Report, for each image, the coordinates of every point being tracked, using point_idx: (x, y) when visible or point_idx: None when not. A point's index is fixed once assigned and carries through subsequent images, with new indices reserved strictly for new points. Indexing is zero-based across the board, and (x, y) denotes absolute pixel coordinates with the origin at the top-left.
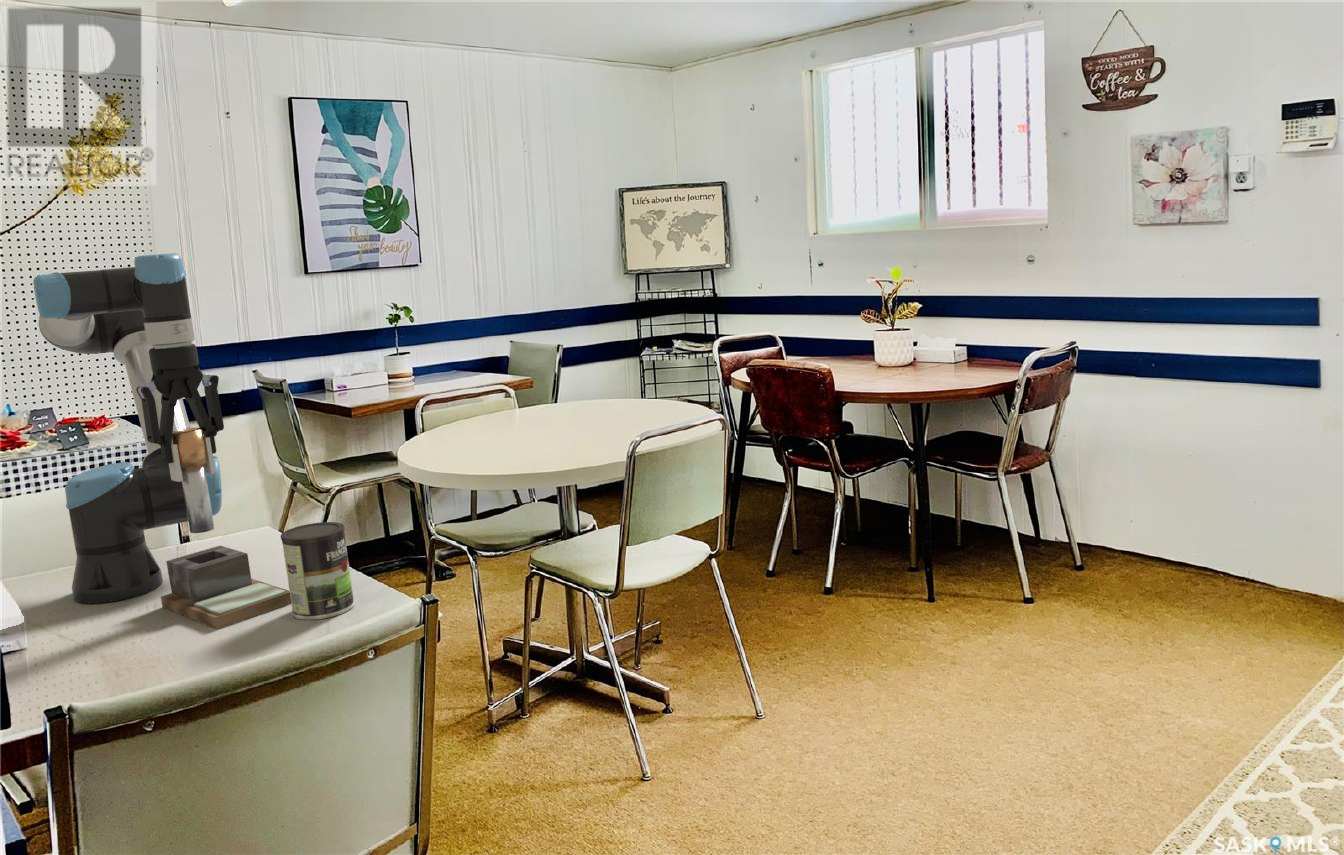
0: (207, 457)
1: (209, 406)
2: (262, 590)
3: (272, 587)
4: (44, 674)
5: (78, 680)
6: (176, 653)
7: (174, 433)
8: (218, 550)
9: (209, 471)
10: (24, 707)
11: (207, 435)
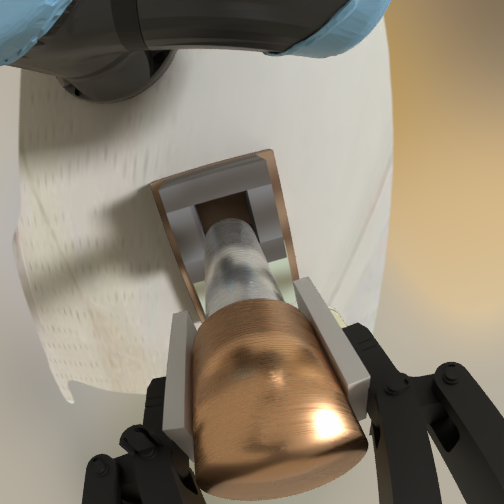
0: None
1: (483, 485)
2: (275, 279)
3: (289, 276)
4: (49, 318)
5: (81, 351)
6: (158, 352)
7: (217, 492)
8: (254, 194)
9: None
10: (56, 370)
11: (369, 415)
